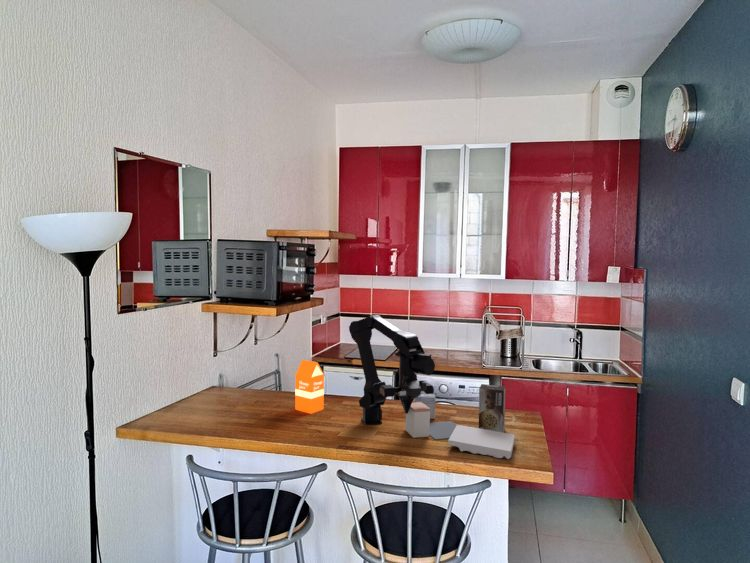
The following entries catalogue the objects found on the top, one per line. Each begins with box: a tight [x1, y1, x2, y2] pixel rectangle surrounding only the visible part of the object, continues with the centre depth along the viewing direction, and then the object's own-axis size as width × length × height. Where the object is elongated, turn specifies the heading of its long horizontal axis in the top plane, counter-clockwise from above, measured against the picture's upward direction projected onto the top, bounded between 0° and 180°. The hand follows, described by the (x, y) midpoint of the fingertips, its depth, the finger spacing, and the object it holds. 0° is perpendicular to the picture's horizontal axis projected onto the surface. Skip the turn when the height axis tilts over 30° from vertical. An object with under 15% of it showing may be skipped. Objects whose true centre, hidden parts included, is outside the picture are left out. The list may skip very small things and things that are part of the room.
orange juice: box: [294, 359, 325, 415], centre depth 208 cm, size 8×9×20 cm
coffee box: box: [477, 383, 506, 433], centre depth 188 cm, size 9×6×16 cm
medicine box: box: [414, 393, 436, 420], centre depth 202 cm, size 8×4×9 cm, turn 84°
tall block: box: [404, 401, 431, 439], centre depth 184 cm, size 6×8×10 cm
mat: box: [429, 420, 458, 441], centre depth 187 cm, size 14×16×1 cm
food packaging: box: [447, 424, 516, 460], centre depth 172 cm, size 15×3×20 cm
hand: (406, 413), depth 182 cm, fingers closed
